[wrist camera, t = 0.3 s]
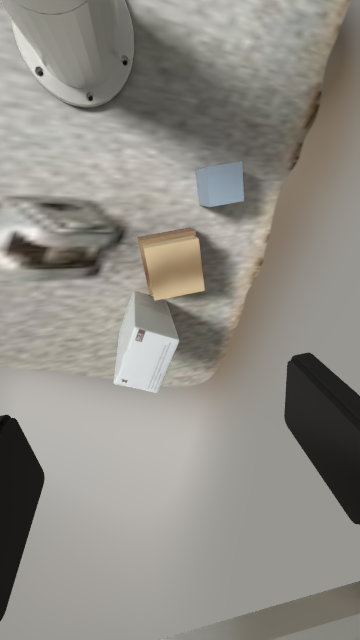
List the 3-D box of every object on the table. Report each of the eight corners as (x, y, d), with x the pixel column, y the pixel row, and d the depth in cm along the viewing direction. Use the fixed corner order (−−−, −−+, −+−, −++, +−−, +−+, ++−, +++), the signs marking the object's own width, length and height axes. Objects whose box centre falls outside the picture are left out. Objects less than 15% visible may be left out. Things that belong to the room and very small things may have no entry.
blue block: (195, 170, 38) (206, 166, 33) (226, 165, 38) (242, 160, 33) (199, 205, 40) (210, 207, 35) (228, 200, 40) (244, 200, 35)
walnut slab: (137, 236, 41) (138, 241, 37) (189, 227, 41) (195, 230, 38) (148, 287, 44) (149, 295, 40) (196, 277, 45) (202, 285, 41)
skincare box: (150, 340, 48) (158, 397, 35) (117, 331, 46) (111, 387, 33) (167, 298, 45) (183, 341, 32) (132, 286, 43) (133, 328, 30)
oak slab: (142, 243, 37) (143, 248, 34) (192, 234, 38) (198, 238, 34) (152, 291, 40) (154, 300, 37) (198, 282, 41) (204, 290, 37)
